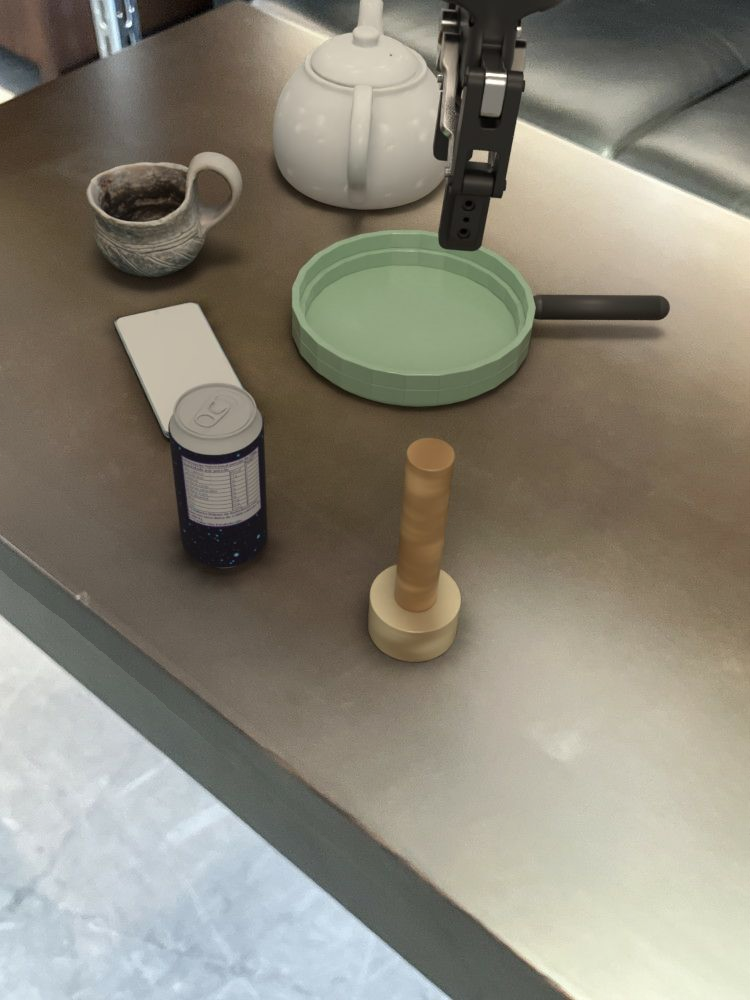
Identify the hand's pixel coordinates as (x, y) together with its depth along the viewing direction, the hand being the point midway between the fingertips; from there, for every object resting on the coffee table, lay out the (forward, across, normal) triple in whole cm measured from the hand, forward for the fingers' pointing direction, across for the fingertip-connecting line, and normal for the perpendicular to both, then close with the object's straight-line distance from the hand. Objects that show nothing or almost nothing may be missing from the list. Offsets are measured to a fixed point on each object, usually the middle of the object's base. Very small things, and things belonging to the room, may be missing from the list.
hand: (454, 200), depth 61 cm
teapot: (+26, -45, -3) cm, 52 cm away
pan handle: (+23, -21, +16) cm, 34 cm away
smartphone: (+26, -14, -17) cm, 34 cm away
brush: (+24, +10, 0) cm, 26 cm away
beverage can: (+25, +4, -12) cm, 28 cm away
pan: (+25, -20, +1) cm, 32 cm away
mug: (+26, -29, -20) cm, 44 cm away
